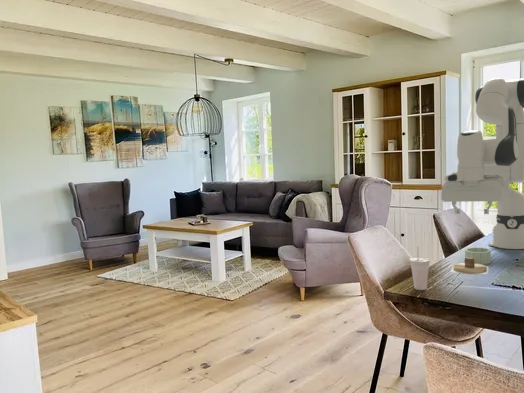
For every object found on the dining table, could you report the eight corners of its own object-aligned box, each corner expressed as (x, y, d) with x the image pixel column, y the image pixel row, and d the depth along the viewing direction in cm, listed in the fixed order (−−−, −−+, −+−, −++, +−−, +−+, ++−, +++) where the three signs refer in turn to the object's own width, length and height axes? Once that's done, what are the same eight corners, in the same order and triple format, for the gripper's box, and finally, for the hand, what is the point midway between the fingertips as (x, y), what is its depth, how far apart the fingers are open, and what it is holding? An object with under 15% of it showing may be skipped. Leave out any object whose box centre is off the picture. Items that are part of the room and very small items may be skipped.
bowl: (466, 259, 180) (465, 247, 179) (491, 260, 175) (491, 248, 175) (464, 264, 172) (463, 252, 171) (490, 266, 167) (490, 253, 167)
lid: (455, 264, 171) (454, 254, 170) (487, 266, 165) (486, 255, 165) (452, 272, 161) (451, 261, 161) (486, 274, 156) (485, 262, 155)
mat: (453, 265, 171) (453, 264, 171) (488, 267, 165) (488, 266, 165) (450, 273, 161) (450, 272, 161) (487, 276, 155) (487, 274, 155)
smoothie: (406, 287, 148) (404, 246, 147) (420, 284, 151) (418, 243, 150) (421, 292, 142) (419, 249, 141) (435, 288, 145) (433, 246, 144)
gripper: (503, 174, 158) (504, 213, 159) (442, 176, 168) (443, 212, 169) (503, 174, 153) (504, 215, 154) (440, 177, 163) (441, 214, 164)
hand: (471, 213), depth 161 cm, fingers open, 8 cm apart
